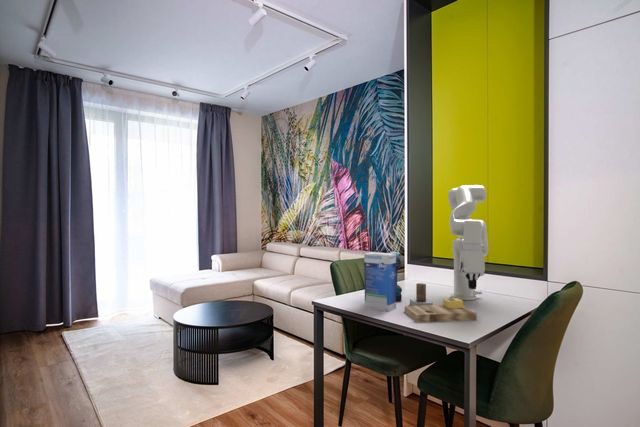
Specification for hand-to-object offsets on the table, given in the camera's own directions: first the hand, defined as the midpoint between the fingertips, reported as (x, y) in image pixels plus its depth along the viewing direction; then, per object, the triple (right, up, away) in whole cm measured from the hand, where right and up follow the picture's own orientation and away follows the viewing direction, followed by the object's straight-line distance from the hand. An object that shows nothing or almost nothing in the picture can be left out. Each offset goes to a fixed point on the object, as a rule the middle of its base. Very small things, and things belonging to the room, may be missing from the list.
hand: (472, 288), depth 160 cm
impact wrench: (-30, -11, +25) cm, 40 cm away
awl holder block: (-20, -11, +10) cm, 25 cm away
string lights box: (-40, -11, +7) cm, 42 cm away
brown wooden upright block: (-20, -10, +10) cm, 25 cm away
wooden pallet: (-16, -11, -5) cm, 20 cm away
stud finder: (-9, -8, 0) cm, 12 cm away
